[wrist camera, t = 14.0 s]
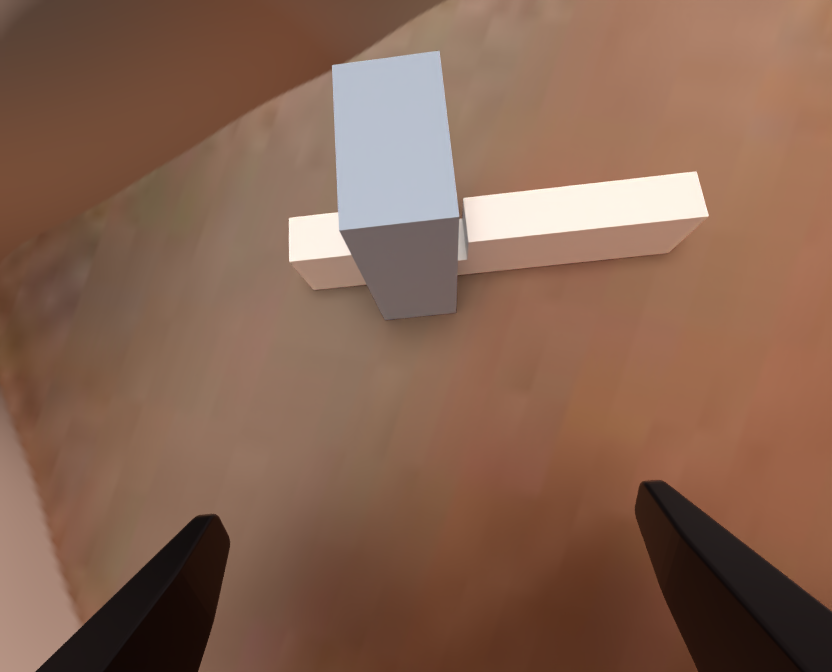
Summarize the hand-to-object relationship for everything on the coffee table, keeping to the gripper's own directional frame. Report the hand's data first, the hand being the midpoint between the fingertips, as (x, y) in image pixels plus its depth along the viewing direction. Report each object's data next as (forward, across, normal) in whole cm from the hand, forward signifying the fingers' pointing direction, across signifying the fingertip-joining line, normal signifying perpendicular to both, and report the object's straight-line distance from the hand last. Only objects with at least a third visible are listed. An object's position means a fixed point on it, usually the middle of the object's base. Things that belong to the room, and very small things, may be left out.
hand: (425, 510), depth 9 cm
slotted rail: (+18, -4, +1) cm, 19 cm away
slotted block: (+18, 0, +1) cm, 18 cm away
